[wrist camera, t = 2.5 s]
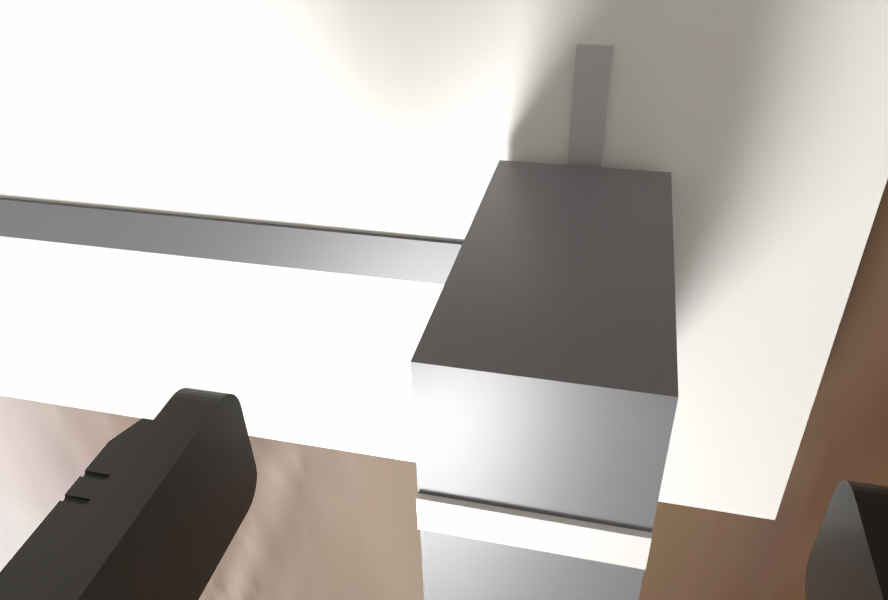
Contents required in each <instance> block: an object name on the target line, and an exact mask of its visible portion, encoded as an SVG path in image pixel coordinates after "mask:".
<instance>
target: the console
mask: <svg viewBox="0 0 888 600" xmlns="http://www.w3.org/2000/svg"><path fill="white" fill-rule="evenodd" d="M499 160H506V161H520V162H534V163H547V164H561V165H575V166H589V167H602V168H616V169H630V170H643V171H657V172H671V181H672V212H673V243H674V274H675V305H676V336H677V367H678V402H677V407H676V412H675V417H674V422H673V427H672V432H671V437H670V443H669V448H668V453H667V458H666V463H665V468H664V473H663V478H662V483H661V488H660V493H659V498H658V501H660V502H666V503H672V504H678V505H685V506H691V507H697V508H703V509H709V510H716V511H722V512H728V513H734V514H741V515H747V516H753V517H759V518H765V519H772V520H775V518H776V515H777V512H778V509H779V506H780V503H781V500H782V497H783V493H784V490H785V487H786V484H787V481H788V478H789V475H790V472H791V469H792V466H793V463H794V460H795V457H796V454H797V451H798V448H799V445H800V442H801V439H802V436H803V433H804V430H805V427H806V424H807V421H808V418H809V415H810V412H811V409H812V406H813V403H814V400H815V397H816V394H817V391H818V388H819V385H820V381H821V378H822V375H823V372H824V369H825V366H826V363H827V360H828V357H829V354H830V351H831V348H832V345H833V342H834V339H835V336H836V333H837V330H838V327H839V324H840V321H841V318H842V315H843V312H844V309H845V306H846V303H847V300H848V297H849V294H850V291H851V288H852V285H853V282H854V279H855V276H856V273H857V269H858V266H859V263H860V260H861V257H862V254H863V251H864V248H865V245H866V242H867V239H868V236H869V233H870V230H871V227H872V224H873V221H874V218H875V215H876V212H877V209H878V206H879V203H880V200H881V197H882V194H883V191H884V188H885V185H886V182H887V179H888V0H0V396H6V397H12V398H19V399H25V400H31V401H37V402H44V403H50V404H56V405H62V406H69V407H75V408H81V409H87V410H93V411H100V412H106V413H112V414H118V415H125V416H131V417H137V418H145V419H152V420H154V418H155V417H156V416H157V415H158V413H159V412H160V411H161V410H162V408H163V407H164V406H165V405H166V403H167V402H168V401H169V399H170V398H171V397H172V396H173V395H174V394H175V393H176V392H177V391H178V390H180V389H182V388H192V389H200V390H207V391H214V392H221V393H229V394H234V395H235V396H236V397H237V398H238V399H239V401H240V404H241V408H242V412H243V416H244V420H245V424H246V428H247V432H248V435H249V436H255V437H261V438H268V439H274V440H280V441H286V442H293V443H299V444H305V445H311V446H317V447H324V448H330V449H336V450H342V451H349V452H355V453H361V454H367V455H373V456H380V457H386V458H392V459H398V460H405V461H411V462H416V449H415V432H414V416H413V399H412V382H411V365H410V361H411V359H412V357H413V355H414V352H415V350H416V348H417V345H418V343H419V341H420V339H421V336H422V334H423V332H424V330H425V327H426V325H427V323H428V321H429V318H430V316H431V314H432V312H433V309H434V307H435V305H436V302H437V300H438V298H439V296H440V293H441V291H442V289H443V287H444V284H445V282H446V280H447V278H448V275H449V273H450V271H451V269H452V266H453V264H454V262H455V260H456V257H457V255H458V253H459V250H460V248H461V246H462V244H463V241H464V239H465V237H466V235H467V232H468V230H469V228H470V226H471V223H472V221H473V219H474V217H475V214H476V212H477V210H478V207H479V205H480V203H481V201H482V198H483V196H484V194H485V192H486V189H487V187H488V185H489V183H490V180H491V178H492V176H493V174H494V171H495V169H496V167H497V165H498V162H499Z"/></svg>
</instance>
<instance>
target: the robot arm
mask: <svg viewBox="0 0 888 600" xmlns="http://www.w3.org/2000/svg"><path fill="white" fill-rule="evenodd" d="M256 481H257V471H256V464H255V460H254V456H253V452H252V448H251V444H250V440H249V436H248V432H247V428H246V424H245V420H244V416H243V412H242V408H241V404H240V401H239V399H238V398H237V397H236V396H235V395H234V394H229V393H221V392H214V391H207V390H200V389H192V388H182V389H180V390H178V391H177V392H176V393H175V394H174V395H173V396H172V397H171V398H170V399H169V401H168V402H167V403H166V405H165V406H164V407H163V408H162V410H161V411H160V412H159V413H158V415H157V416H156V417H155V418H154V420H152V419H145V418H142V419H141V420H139V421H138V422H137V423H135V424H134V425H132V426H131V427H129V428H128V429H126V430H125V431H124V432H122V433H121V434H119V435H118V436H116V437H115V438H113V439H112V440H111V441H109V442H108V443H107V445H106V446H105V447H104V448H103V449H102V451H101V452H100V453H99V454H98V455H97V457H96V458H95V459H94V460H93V461H92V463H91V464H90V465H89V466H88V467H87V469H86V470H85V475H84V476H83V477H81V476H80V477H79V478H78V479H77V481H76V482H75V483H74V484H73V485H72V487H71V488H70V489H69V490H68V491H67V493H66V494H65V499H64V501H59V502H58V504H57V505H56V506H55V507H54V508H53V510H52V511H51V512H50V513H49V514H48V516H47V517H46V518H45V519H44V520H43V522H42V523H41V524H40V525H39V526H38V528H37V529H36V530H35V531H34V532H33V534H32V535H31V536H30V537H29V538H28V540H27V541H26V542H25V543H24V544H23V546H22V547H21V548H20V549H19V550H18V552H17V553H16V554H15V555H14V556H13V558H12V559H11V560H10V561H9V562H8V564H7V565H6V566H5V567H4V568H3V570H2V571H1V572H0V600H198V599H199V598H200V596H201V594H202V592H203V590H204V589H205V587H206V585H207V583H208V582H209V580H210V578H211V576H212V574H213V573H214V571H215V569H216V567H217V565H218V564H219V562H220V560H221V558H222V557H223V555H224V553H225V551H226V549H227V548H228V546H229V544H230V542H231V541H232V539H233V537H234V535H235V533H236V532H237V530H238V528H239V526H240V524H241V523H242V521H243V519H244V517H245V516H246V514H247V512H248V510H249V508H250V506H251V503H252V500H253V497H254V493H255V488H256ZM805 594H806V600H888V486H880V485H873V484H866V483H859V482H852V481H844V480H843V481H841V482H839V483H838V485H837V486H836V488H835V491H834V493H833V496H832V498H831V501H830V504H829V506H828V509H827V512H826V514H825V517H824V520H823V522H822V525H821V527H820V530H819V533H818V535H817V538H816V541H815V543H814V546H813V549H812V551H811V554H810V557H809V560H808V565H807V571H806V583H805Z"/></svg>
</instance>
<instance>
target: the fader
mask: <svg viewBox="0 0 888 600" xmlns="http://www.w3.org/2000/svg"><path fill="white" fill-rule="evenodd" d="M410 365H411V382H412V399H413V416H414V432H415V449H416V466H417V483H418V495H417V497H416V505H417V521H418V529H420V534H421V550H422V567H423V584H424V600H638V599H639V594H640V589H641V584H642V579H643V574H644V570H646V565H647V560H648V555H649V550H650V545H651V540H652V528H653V523H654V518H655V513H656V508H657V503H658V498H659V493H660V488H661V483H662V478H663V473H664V468H665V463H666V458H667V453H668V448H669V443H670V437H671V432H672V427H673V422H674V417H675V412H676V407H677V402H678V367H677V336H676V305H675V274H674V243H673V212H672V181H671V172H657V171H643V170H630V169H616V168H602V167H589V166H575V165H561V164H547V163H534V162H520V161H506V160H499V162H498V165H497V167H496V169H495V171H494V174H493V176H492V178H491V180H490V183H489V185H488V187H487V189H486V192H485V194H484V196H483V198H482V201H481V203H480V205H479V207H478V210H477V212H476V214H475V217H474V219H473V221H472V223H471V226H470V228H469V230H468V232H467V235H466V237H465V239H464V241H463V244H462V246H461V248H460V250H459V253H458V255H457V257H456V260H455V262H454V264H453V266H452V269H451V271H450V273H449V275H448V278H447V280H446V282H445V284H444V287H443V289H442V291H441V293H440V296H439V298H438V300H437V302H436V305H435V307H434V309H433V312H432V314H431V316H430V318H429V321H428V323H427V325H426V327H425V330H424V332H423V334H422V336H421V339H420V341H419V343H418V345H417V348H416V350H415V352H414V355H413V357H412V359H411V361H410Z"/></svg>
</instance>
